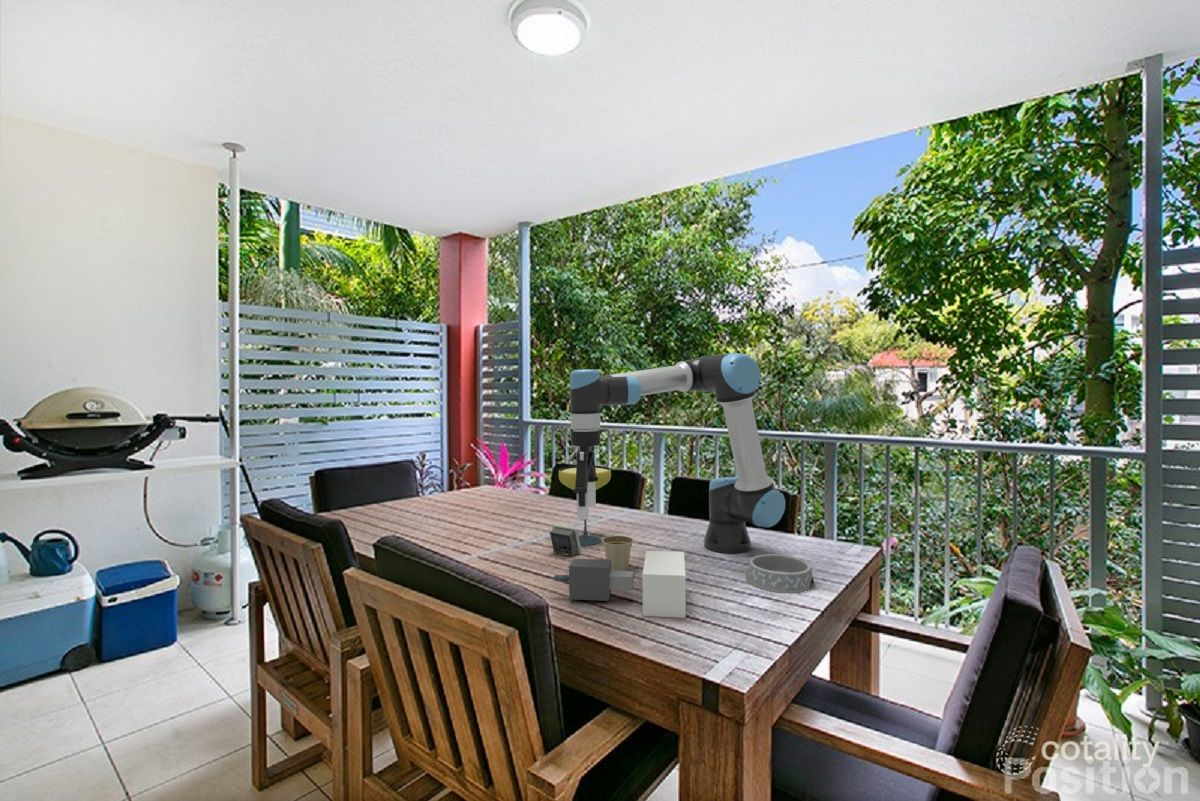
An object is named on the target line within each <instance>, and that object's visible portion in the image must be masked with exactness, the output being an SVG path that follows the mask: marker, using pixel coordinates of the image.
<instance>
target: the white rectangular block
mask: <svg viewBox="0 0 1200 801" xmlns="http://www.w3.org/2000/svg"><path fill="white" fill-rule="evenodd" d="M686 590H687V589H686V563H685V552H684V551H671V550H670V551H669V550H646V551H645V556H644V563H643V569H642V616H643V617H658V618H659V617H660V618H676V619H677V618H678V619H680V618H681V619H686V616H687V615H686V614H687V613H686V611H687V609H686V604H687V603H686V600H687V599H686V594H687V593H686Z"/></svg>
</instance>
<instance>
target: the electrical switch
mask: <svg viewBox="0 0 1200 801" xmlns="http://www.w3.org/2000/svg"><path fill="white" fill-rule="evenodd" d="M549 536H550V541H551V545H552V550H553V553H555V552H556V553H555V554H557V553H560V554H559V555H562V554H568V555H571V556H570V557H572V556H573V557H574V556H576V555H581V554H582V545H580V541H579V536H580V535H579V532H578V529H577V527H572V526H567V525H562V524H554V525H552V529H551V530H550V531H549Z"/></svg>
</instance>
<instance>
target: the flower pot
mask: <svg viewBox="0 0 1200 801" xmlns="http://www.w3.org/2000/svg"><path fill="white" fill-rule="evenodd" d="M601 542H602V543H603V544H602V545H603V547H604V552H605V553H604V555H605V560H611V570H615V571H628V570H629V566H630V565H629V564H630V559H631V558H630V557H631V550H632V547H633V543H635V542H634V538H632V537H631V536H627V535H626V536H625V535H610V536H609V535H608V536H605V537H603V538H602V539H601Z"/></svg>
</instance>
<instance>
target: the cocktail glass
mask: <svg viewBox="0 0 1200 801" xmlns="http://www.w3.org/2000/svg"><path fill="white" fill-rule="evenodd" d="M576 467H577V465H571V466H565V467H562V468H560V469H558V480H559V481H560V483H561V484H562V485H564V486H565V487H567V488H569V489H571V490H573V489H575V484H576ZM595 468H596V475H597V476H596V477H598V481H594V482H595V487H596V490H599V489H601V488H603V487H604V486H605V485H607V484H608V483H609V482H610V480H611V478H612V472H611V471H612V470H611V468H610V467H607V466H602V465H595ZM583 520H584V523H583V526H584V527H583V528H584V529H583V534H582V535H578V536H579V541H580V546H592V544H594V545H596V544H600V543H601V542H602V539H601V538H600V537H598V536H595V535H589V534H588V528H587V519H583ZM599 542H600V543H599Z"/></svg>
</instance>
